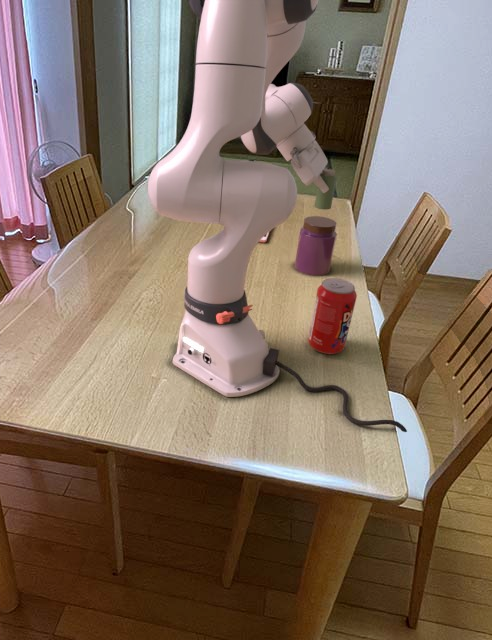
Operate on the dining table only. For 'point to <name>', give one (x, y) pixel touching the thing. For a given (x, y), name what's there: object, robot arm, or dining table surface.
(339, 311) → the soda can
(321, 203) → the green shaker
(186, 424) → the dining table surface
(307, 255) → the plum jar
